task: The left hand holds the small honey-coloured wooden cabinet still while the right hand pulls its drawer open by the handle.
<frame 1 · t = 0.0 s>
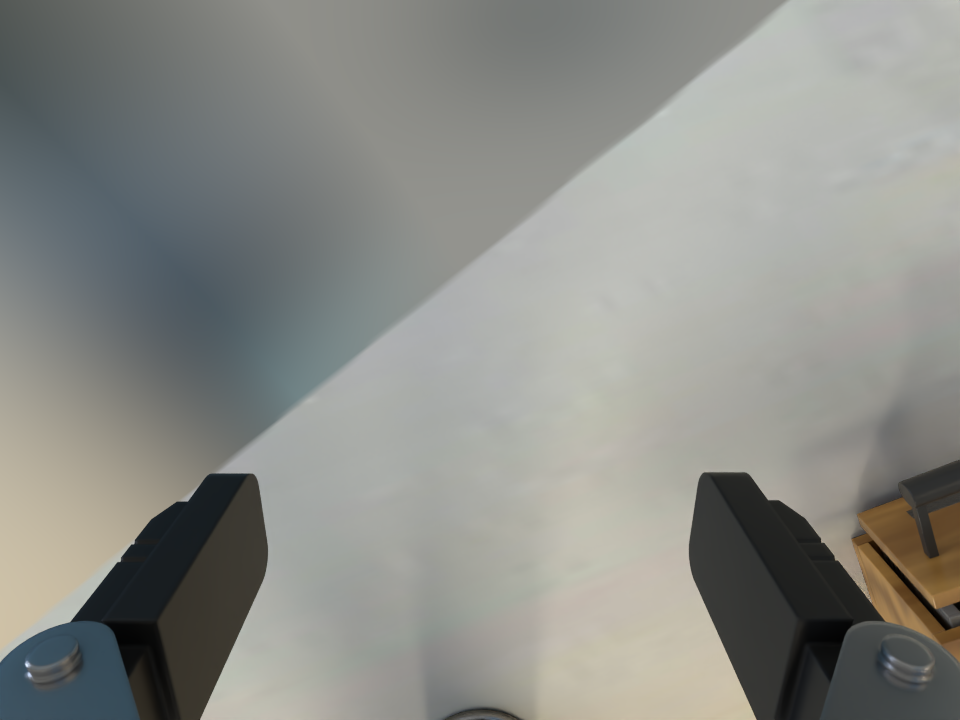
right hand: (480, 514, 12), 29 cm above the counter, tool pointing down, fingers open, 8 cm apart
cabinet: (953, 614, 50), on the counter
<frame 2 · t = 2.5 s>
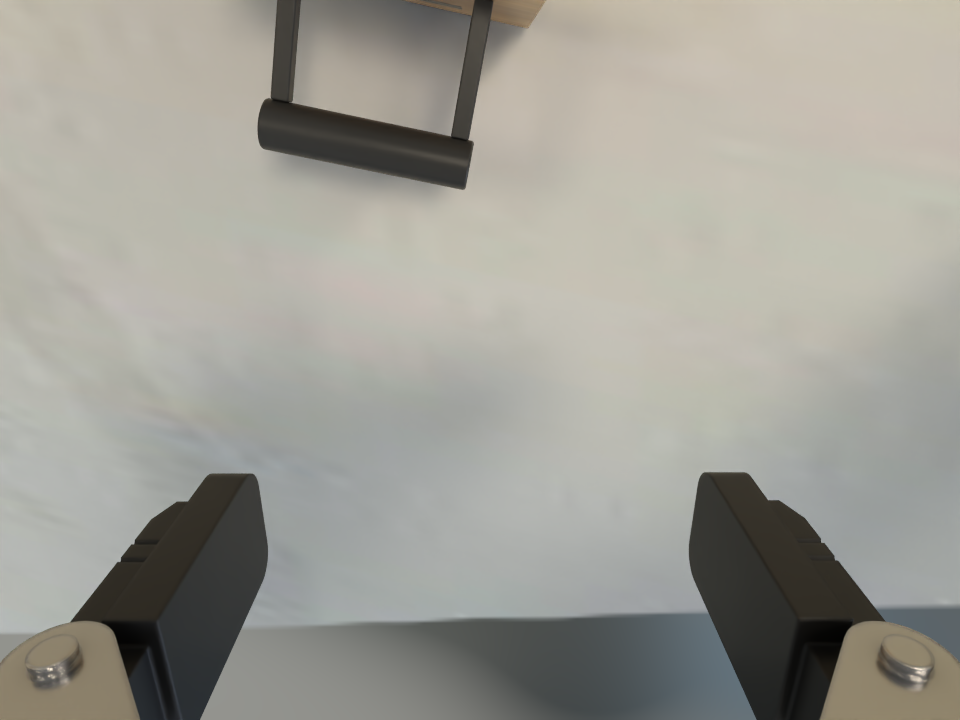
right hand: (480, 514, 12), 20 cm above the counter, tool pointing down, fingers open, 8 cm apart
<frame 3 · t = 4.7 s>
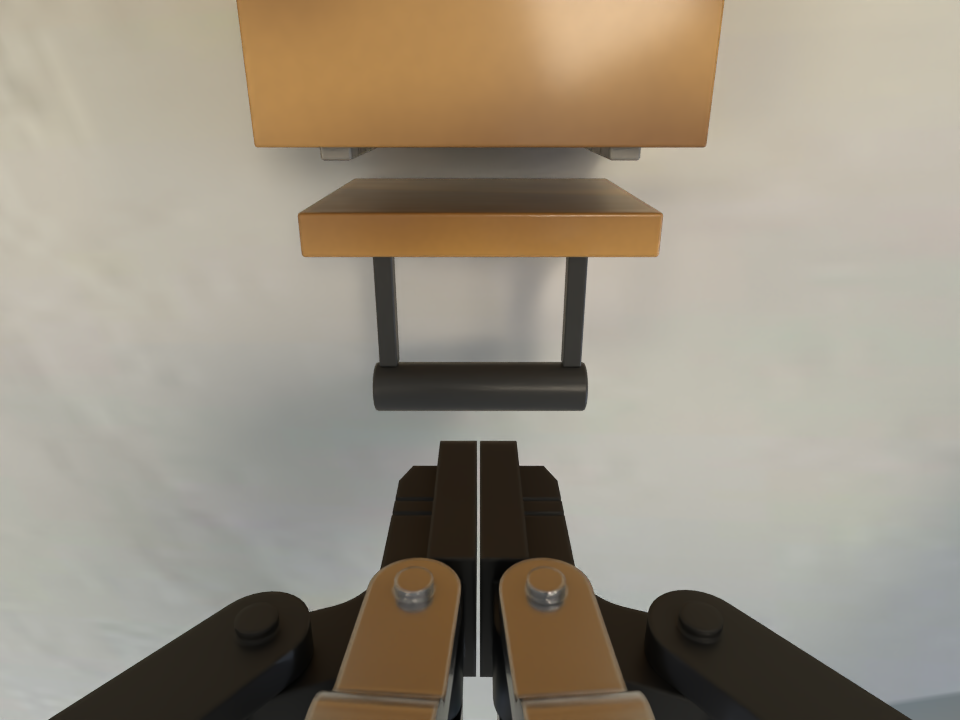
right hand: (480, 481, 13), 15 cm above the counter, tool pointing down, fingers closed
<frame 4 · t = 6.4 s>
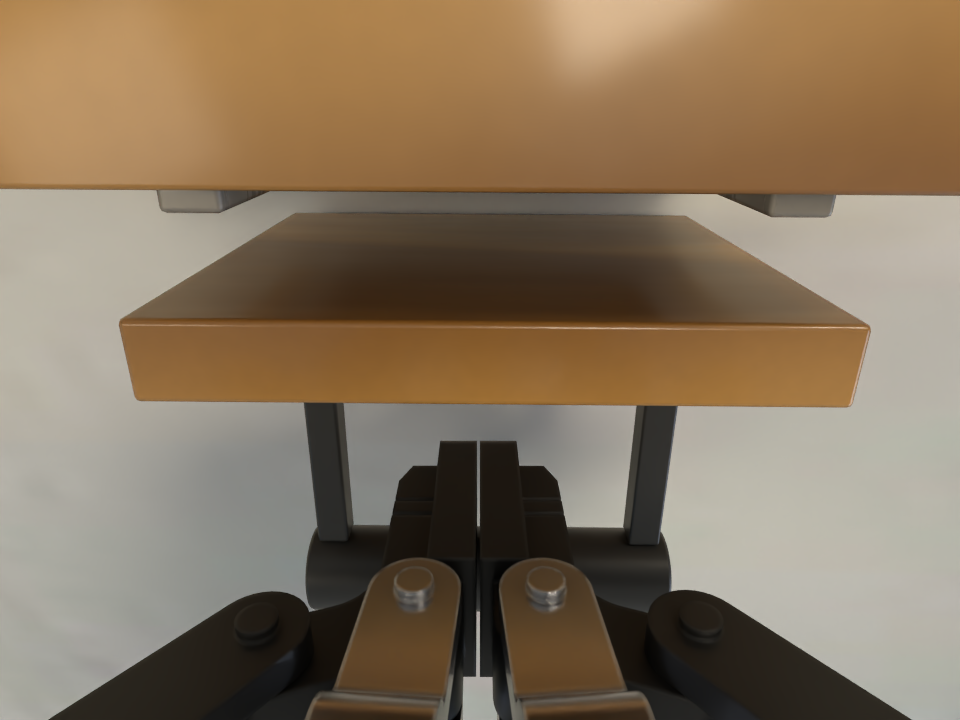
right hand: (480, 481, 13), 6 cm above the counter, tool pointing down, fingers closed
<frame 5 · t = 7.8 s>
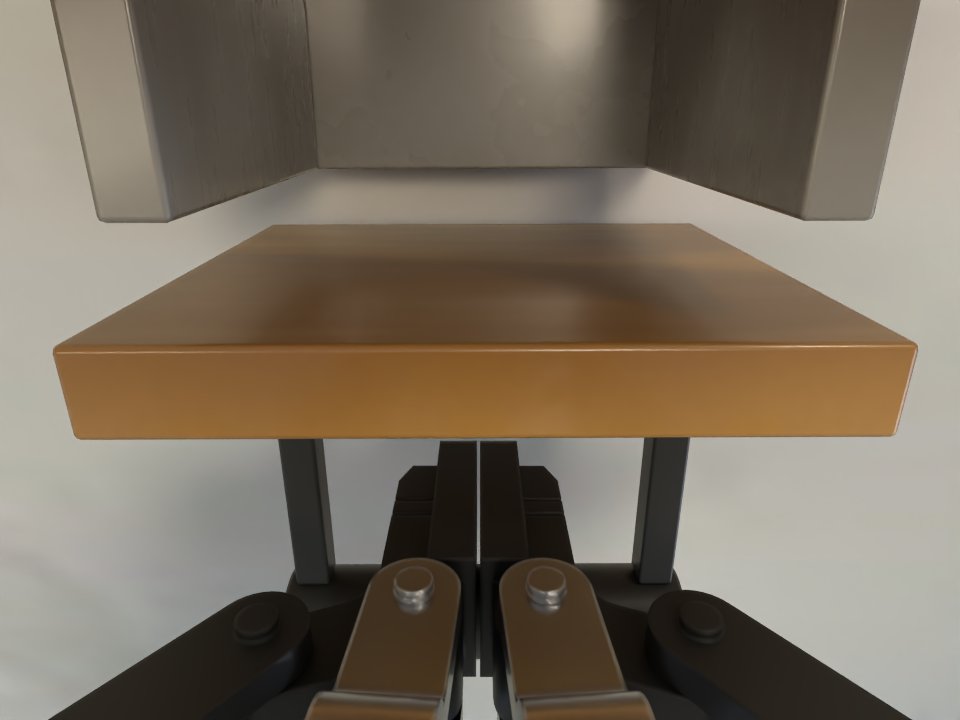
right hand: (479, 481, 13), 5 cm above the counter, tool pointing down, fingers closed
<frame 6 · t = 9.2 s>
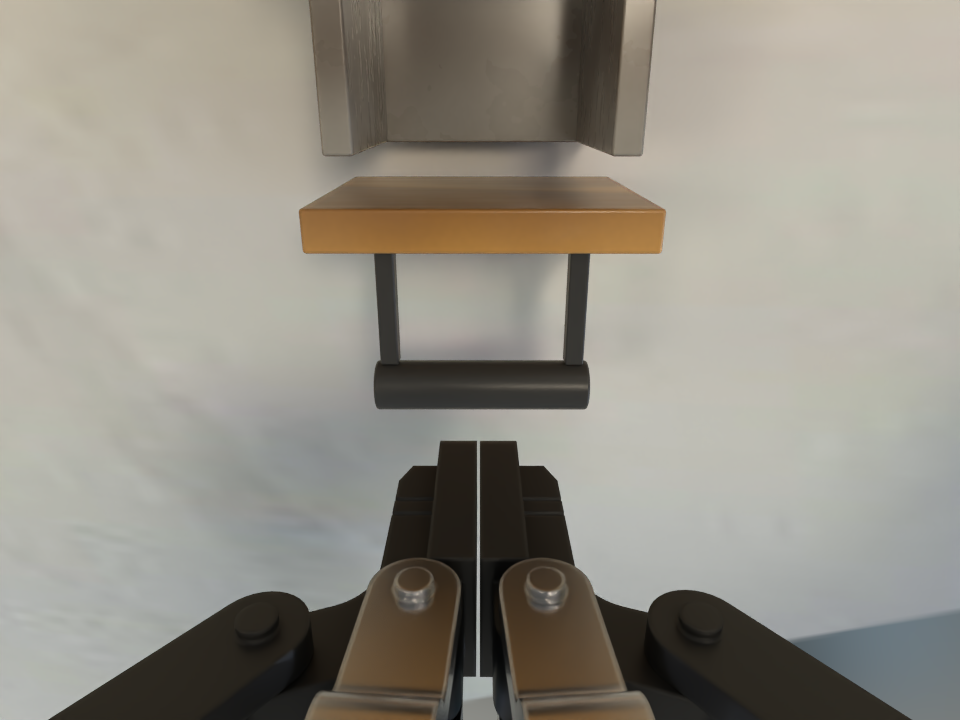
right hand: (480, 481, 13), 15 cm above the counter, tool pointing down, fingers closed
when the left hand's fingers open (5 cm above the counter, at t = 9.9 s): cabinet stays where it is, on the counter.
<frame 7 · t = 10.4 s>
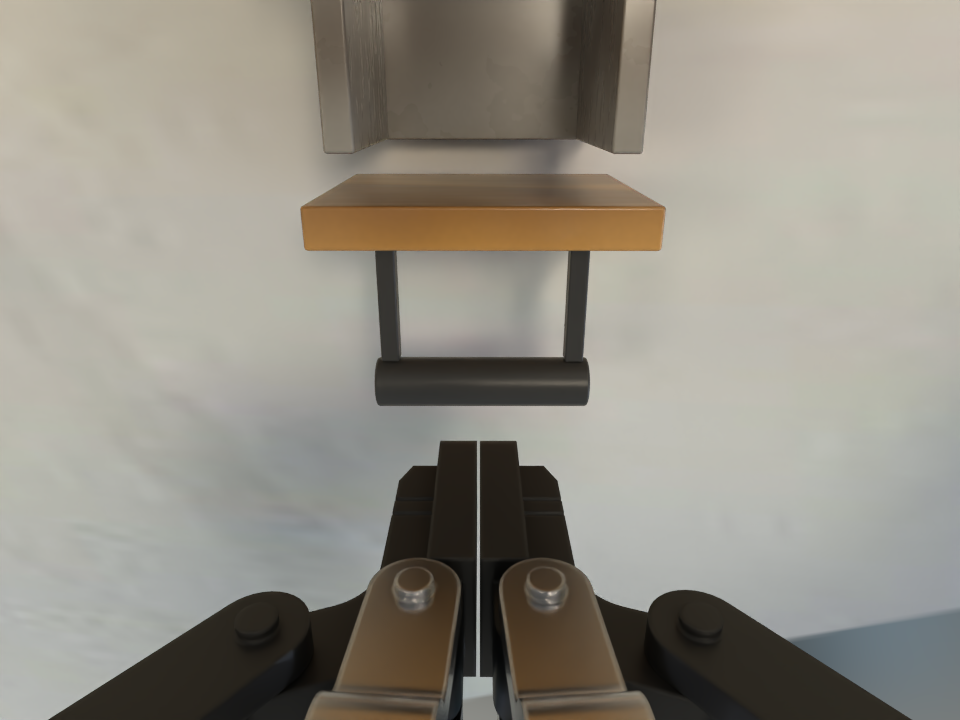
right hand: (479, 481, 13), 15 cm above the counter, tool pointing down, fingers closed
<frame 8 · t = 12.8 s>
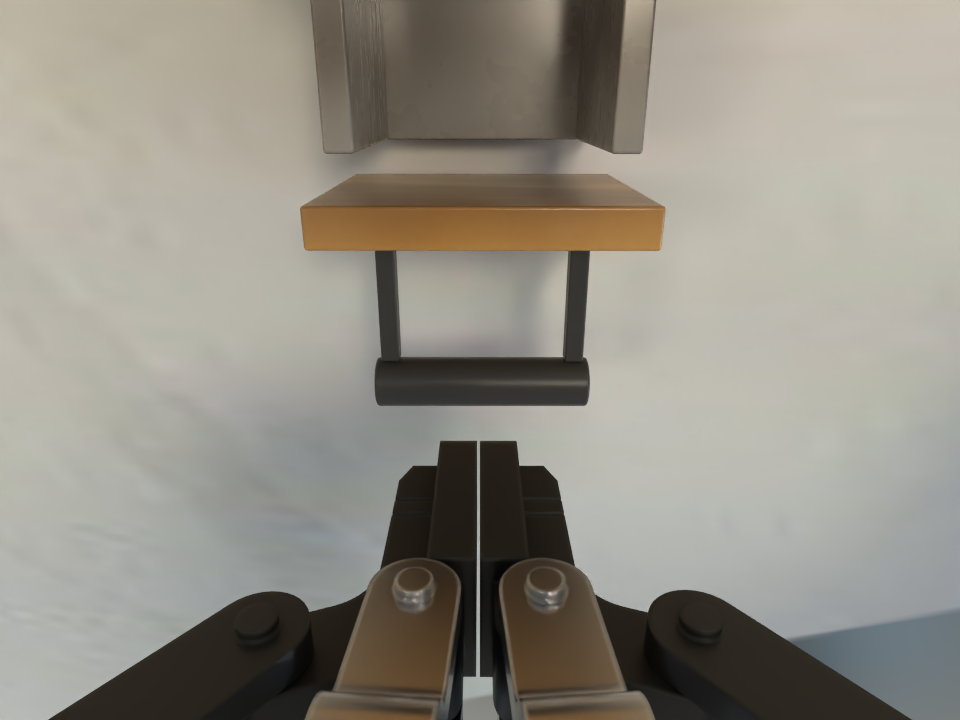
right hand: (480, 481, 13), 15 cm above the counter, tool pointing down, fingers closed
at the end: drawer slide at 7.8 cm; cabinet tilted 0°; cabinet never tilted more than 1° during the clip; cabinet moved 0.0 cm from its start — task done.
